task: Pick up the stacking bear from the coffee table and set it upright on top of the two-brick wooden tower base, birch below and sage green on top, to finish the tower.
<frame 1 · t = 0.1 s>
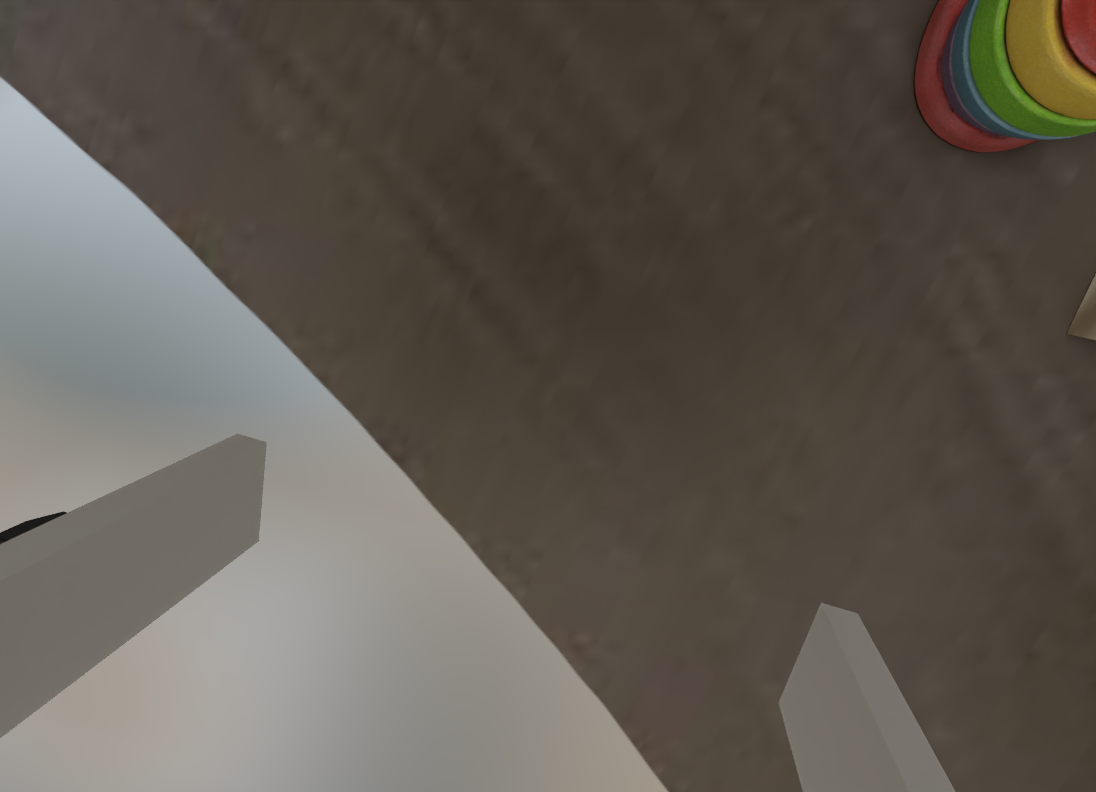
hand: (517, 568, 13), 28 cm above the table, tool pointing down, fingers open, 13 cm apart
stacking bear: (1005, 61, 32), on the table
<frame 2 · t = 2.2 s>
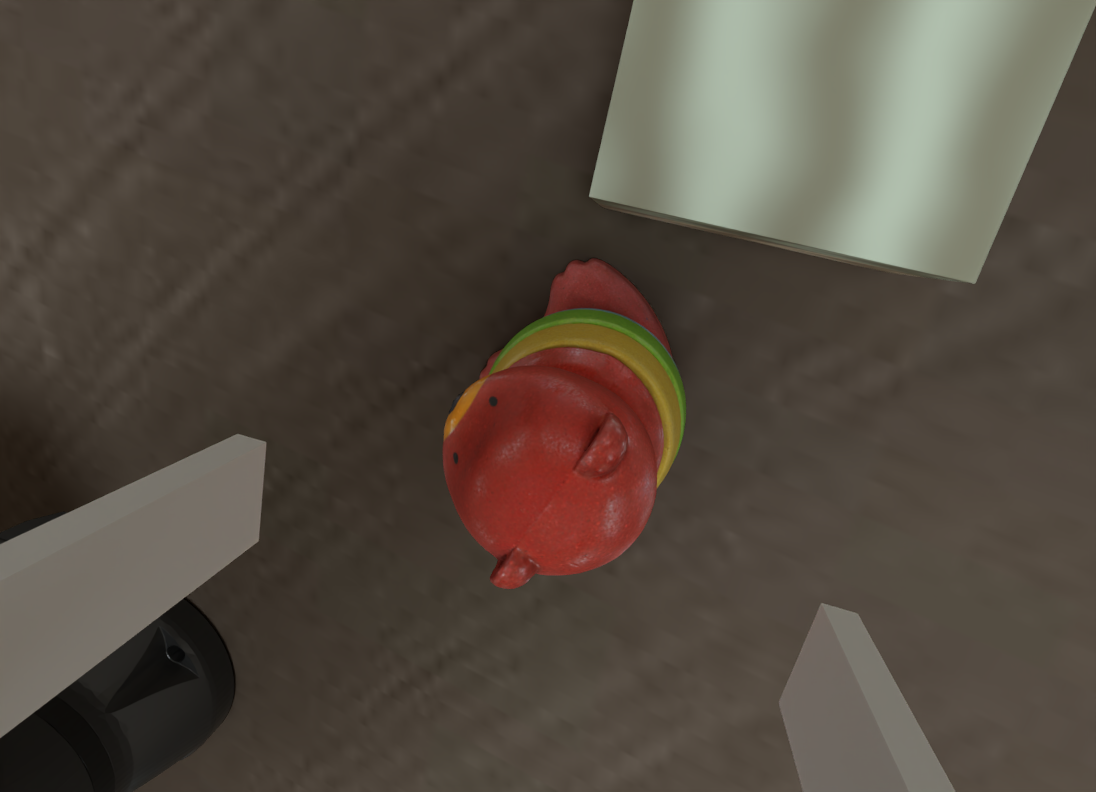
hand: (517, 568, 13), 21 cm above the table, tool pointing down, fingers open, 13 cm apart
tower base: (791, 83, 28), on the table
stacking bear: (590, 372, 33), on the table
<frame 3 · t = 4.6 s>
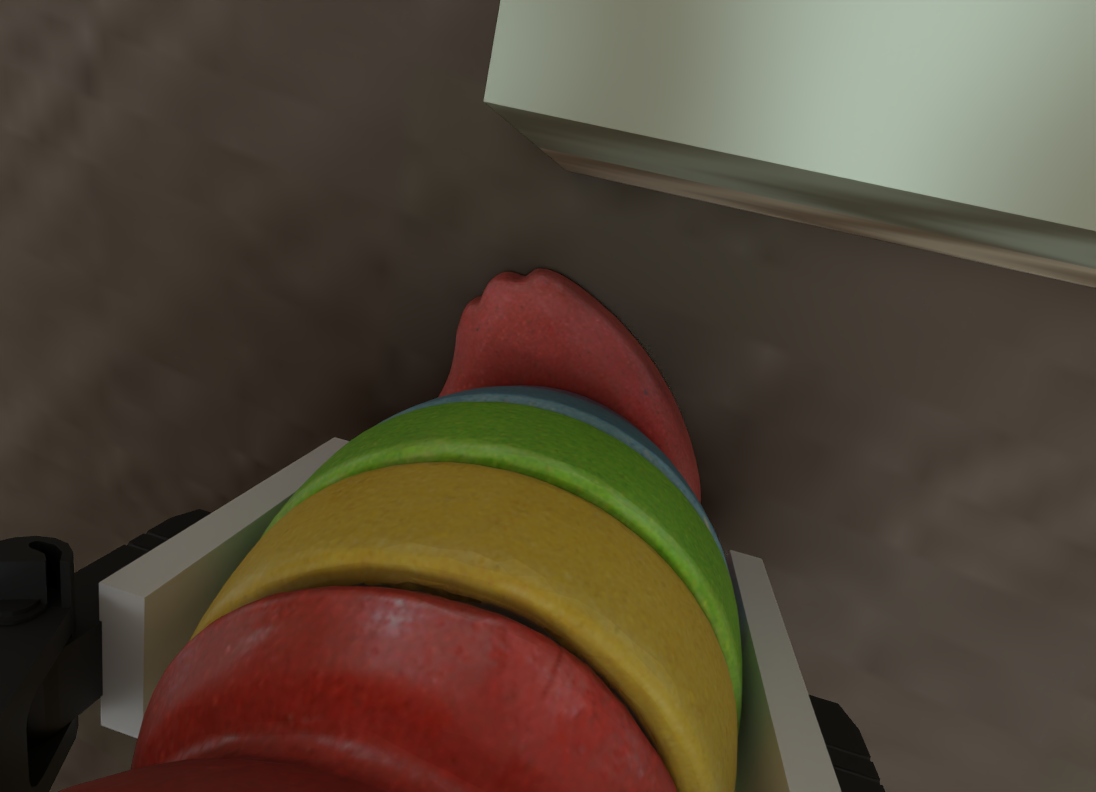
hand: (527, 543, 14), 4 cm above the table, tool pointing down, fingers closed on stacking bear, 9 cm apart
stacking bear: (542, 479, 18), on the table, touching gripper
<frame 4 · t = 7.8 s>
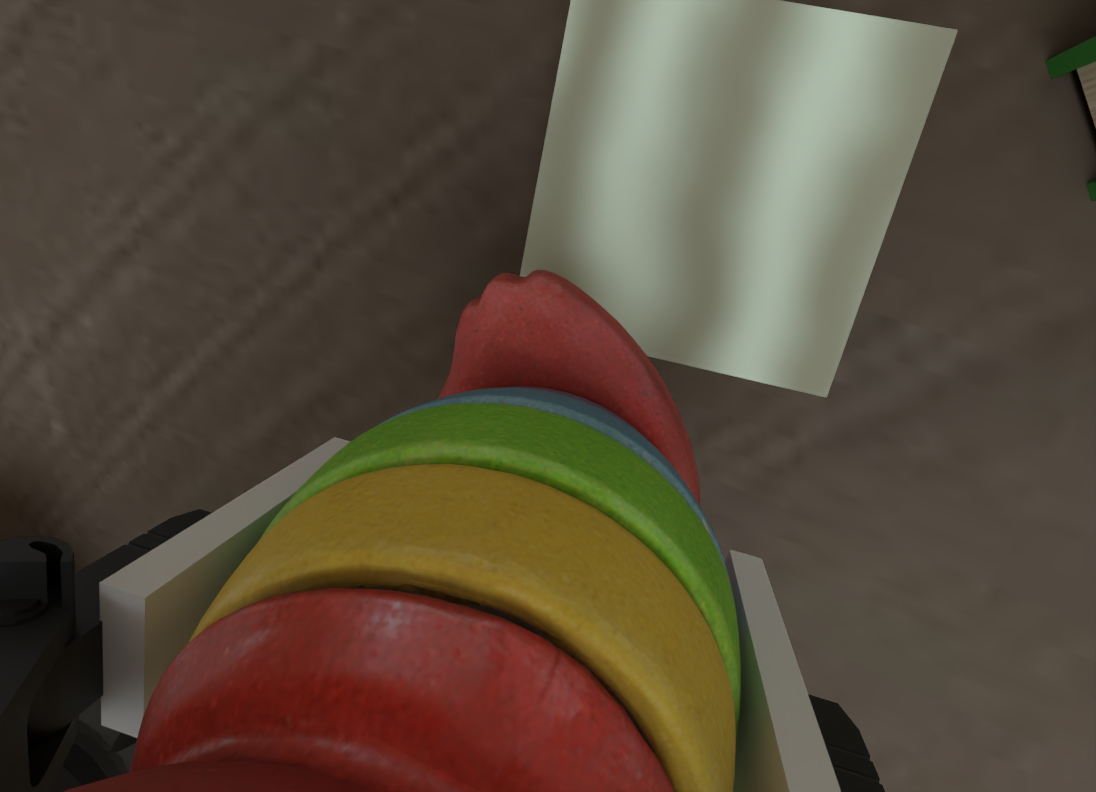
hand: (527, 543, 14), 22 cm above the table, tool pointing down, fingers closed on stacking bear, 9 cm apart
tower base: (693, 205, 32), on the table
stacking bear: (541, 480, 18), point 18 cm above the table, touching gripper
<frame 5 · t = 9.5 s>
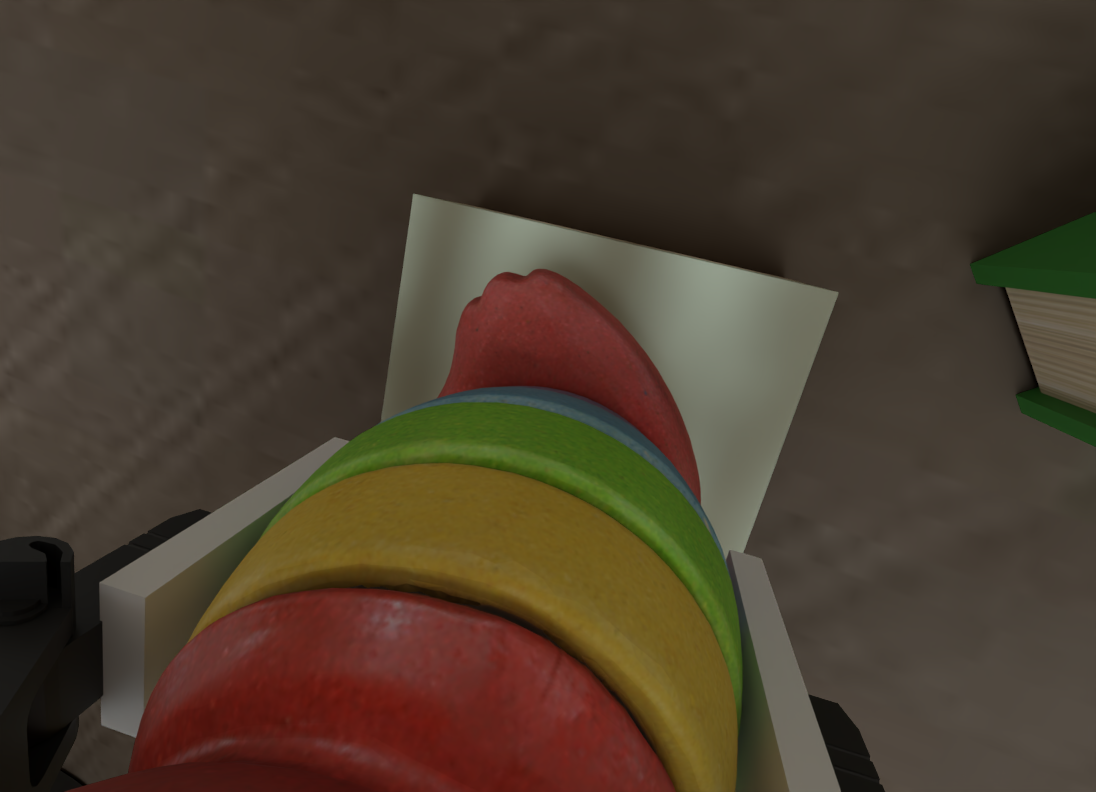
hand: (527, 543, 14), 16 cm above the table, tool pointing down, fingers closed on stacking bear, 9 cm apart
tower base: (589, 388, 30), on the table
stacking bear: (542, 479, 18), point 12 cm above the table, touching gripper
when the fingers open (13 cm above the table, at t = 10.9 s): stacking bear drops 1 cm, resting on tower base.
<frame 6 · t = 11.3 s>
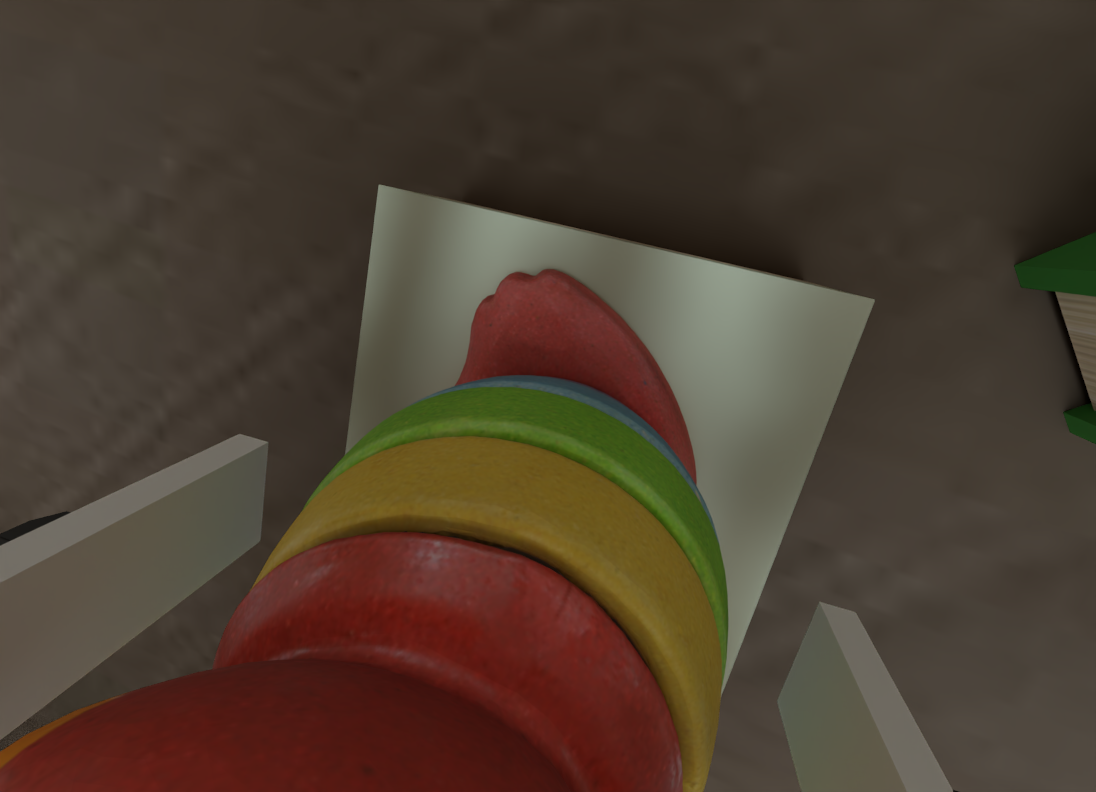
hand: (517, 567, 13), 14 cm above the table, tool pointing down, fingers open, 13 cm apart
tower base: (585, 402, 27), on the table
stacking bear: (549, 465, 19), point 8 cm above the table, touching tower base
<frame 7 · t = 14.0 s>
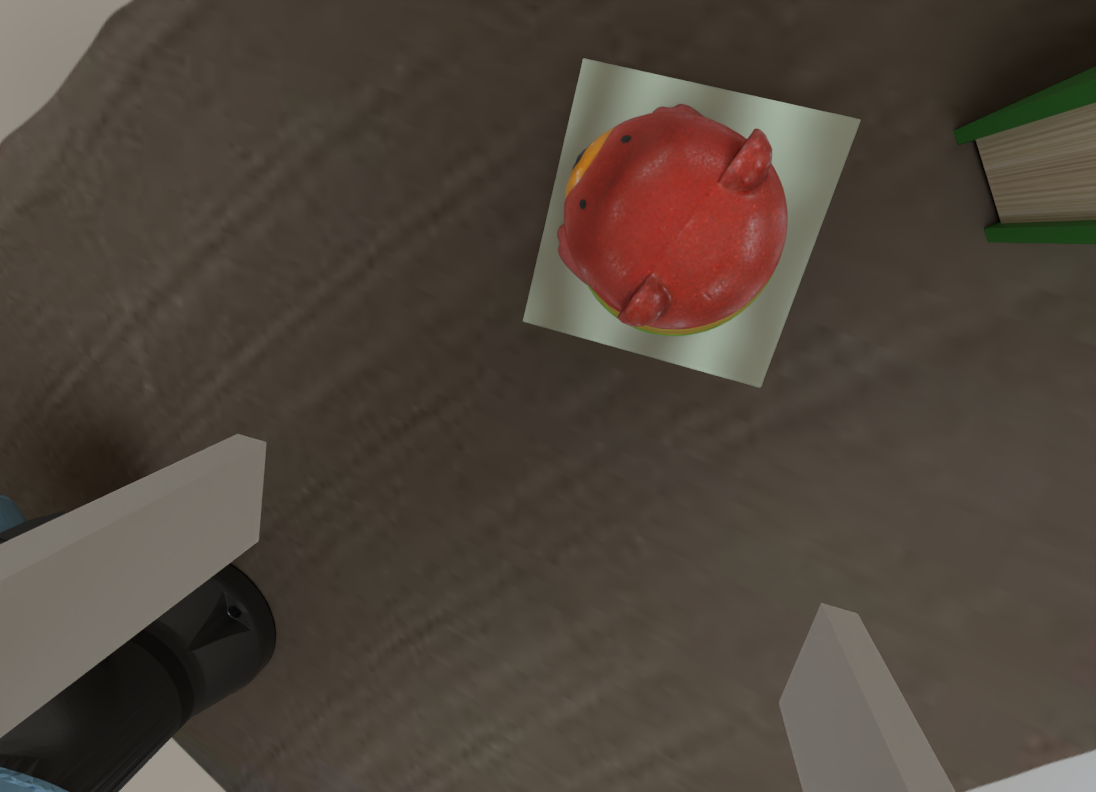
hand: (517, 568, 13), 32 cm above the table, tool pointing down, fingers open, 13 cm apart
tower base: (673, 231, 41), on the table
stacking bear: (669, 230, 33), point 8 cm above the table, touching tower base
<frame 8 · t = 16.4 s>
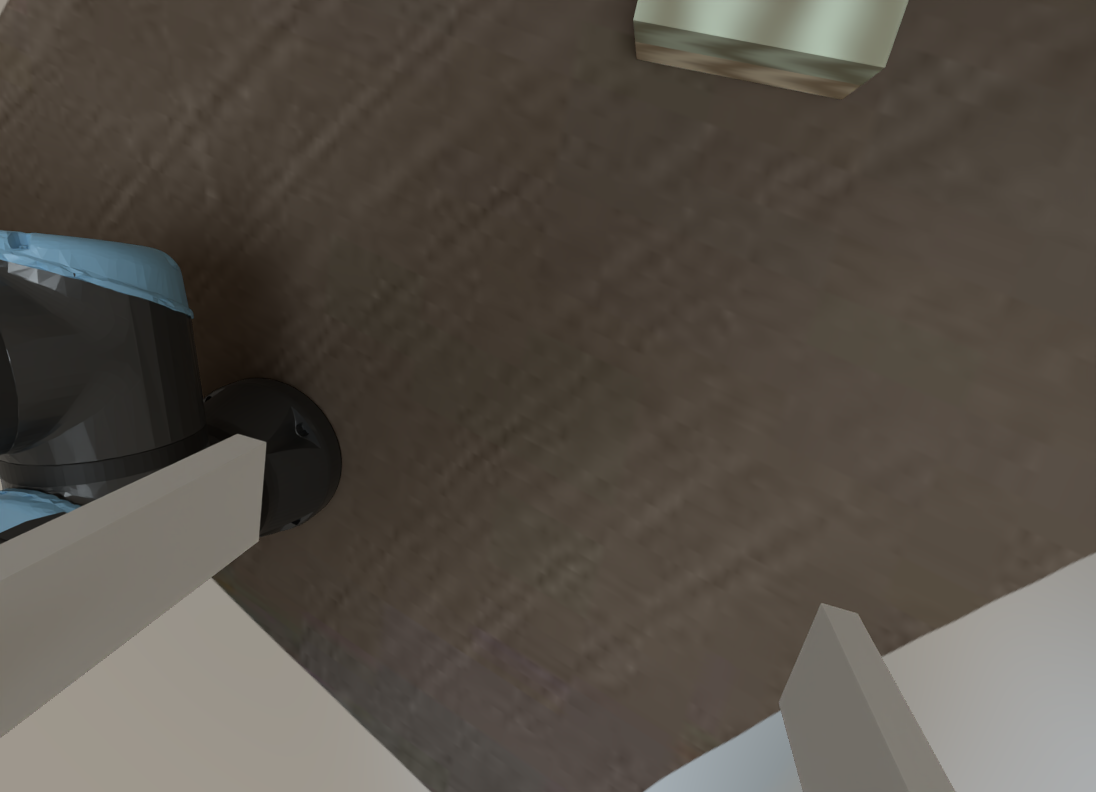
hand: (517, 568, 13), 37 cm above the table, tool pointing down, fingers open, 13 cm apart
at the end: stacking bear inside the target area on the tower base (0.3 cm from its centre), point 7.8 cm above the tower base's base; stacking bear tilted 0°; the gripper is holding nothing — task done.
